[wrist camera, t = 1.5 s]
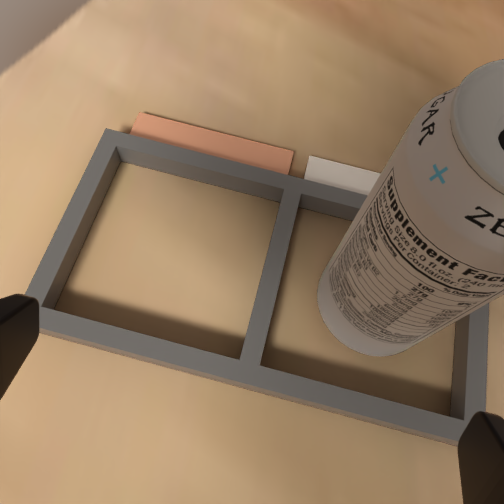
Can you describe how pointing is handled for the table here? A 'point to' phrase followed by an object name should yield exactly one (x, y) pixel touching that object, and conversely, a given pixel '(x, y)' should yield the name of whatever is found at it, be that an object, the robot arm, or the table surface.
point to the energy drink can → (426, 226)
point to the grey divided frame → (291, 197)
